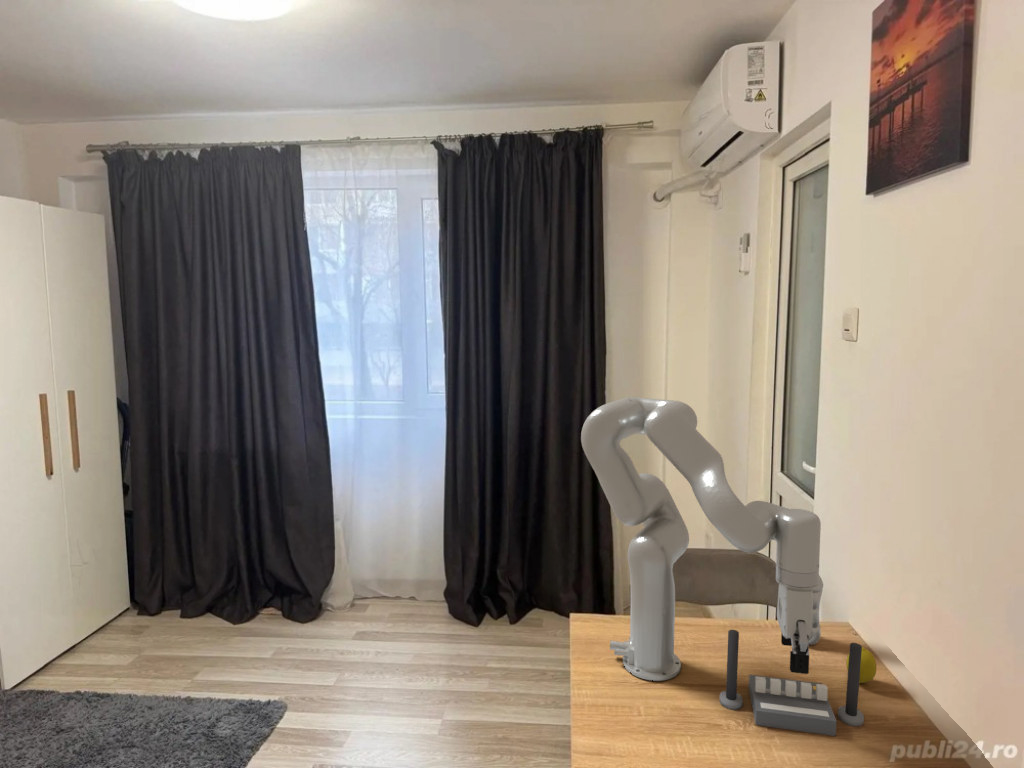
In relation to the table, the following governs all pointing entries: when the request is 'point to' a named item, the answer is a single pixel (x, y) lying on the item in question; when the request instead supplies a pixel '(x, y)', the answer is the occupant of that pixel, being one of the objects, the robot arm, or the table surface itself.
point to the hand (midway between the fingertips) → (794, 658)
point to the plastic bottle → (816, 613)
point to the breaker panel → (791, 710)
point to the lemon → (866, 666)
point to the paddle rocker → (791, 689)
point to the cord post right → (852, 689)
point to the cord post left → (732, 675)
